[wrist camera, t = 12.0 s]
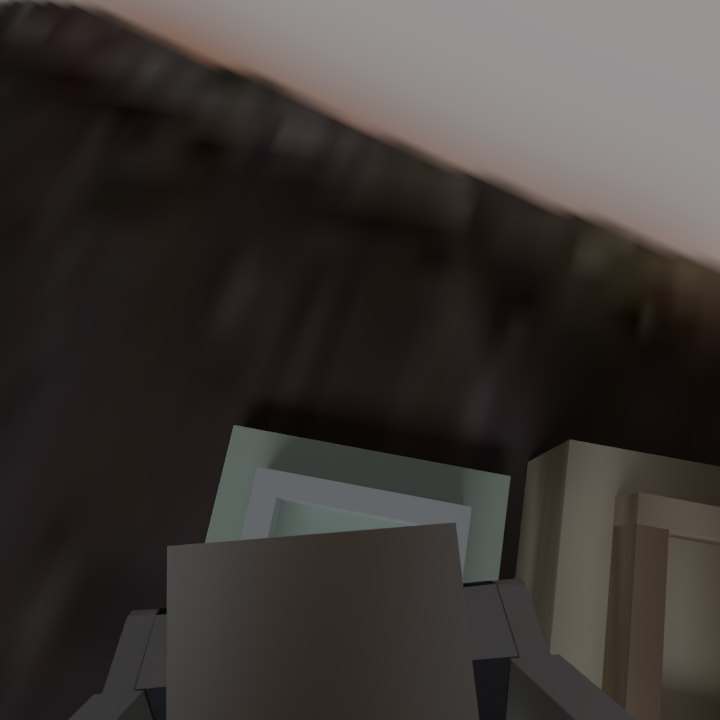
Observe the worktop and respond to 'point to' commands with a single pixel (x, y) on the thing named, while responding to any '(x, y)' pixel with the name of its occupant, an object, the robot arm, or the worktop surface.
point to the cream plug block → (320, 628)
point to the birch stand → (628, 574)
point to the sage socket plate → (354, 495)
